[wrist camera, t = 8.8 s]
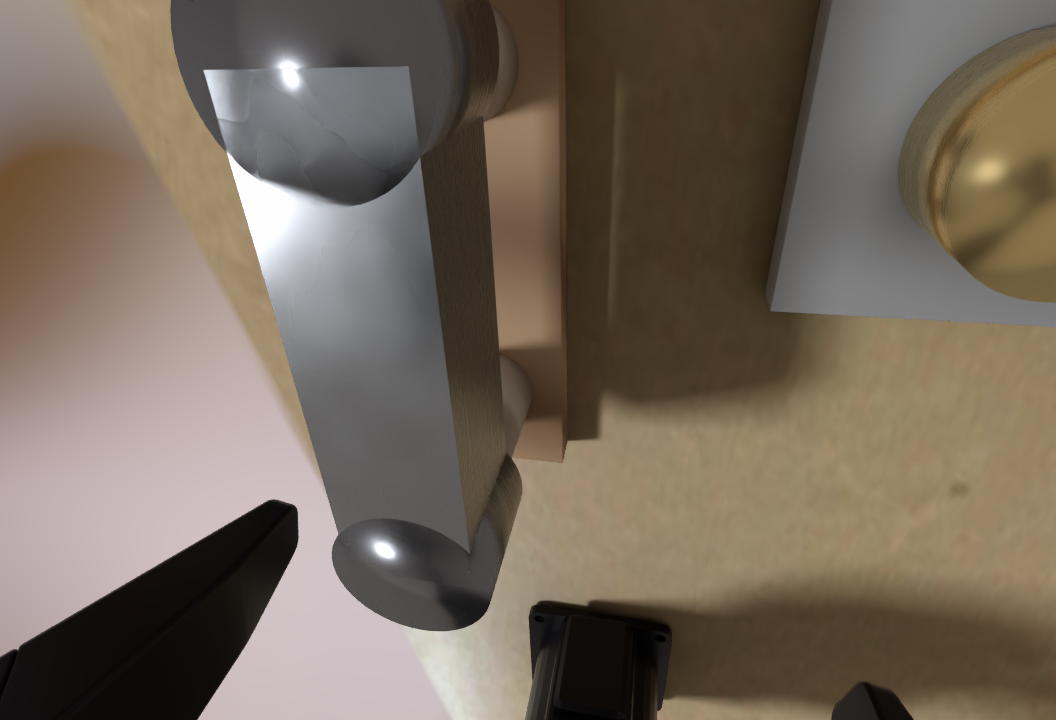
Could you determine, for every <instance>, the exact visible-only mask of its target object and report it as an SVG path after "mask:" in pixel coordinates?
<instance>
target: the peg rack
mask: <svg viewBox="0 0 1056 720" xmlns="http://www.w3.org/2000/svg"><path fill="white" fill-rule="evenodd" d="M489 1H490V4H491V7H492V10H493V13H494V16H495V21H496V25H497V30H498V39H499V70H498V78H497V82H496V86H495V90H494V94H493V96H492V99H491V101H490V104H489V106H488V108H487V110H486V112H485V114H484V116H483V119H484V134H485V149H486V163H487V178H488V192H489V207H490V222H491V236H492V251H493V265H494V280H495V294H496V309H497V324H498V338H499V353H500V367H501V382H502V396H503V411H504V426H505V440H506V453H507V454H508V455H509V456H510V458H511V459H512V457H513V458H522V459H531V460H540V461H549V462H558V463H563V458H564V454H565V450H566V445H567V225H566V0H489Z"/></svg>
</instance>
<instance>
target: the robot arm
mask: <svg viewBox="0 0 1056 720" xmlns="http://www.w3.org/2000/svg"><path fill="white" fill-rule="evenodd" d="M297 543H298V512H297V508H296V507H295V506H294V505H292V504H289V503H285V502H283V501H279V500H274V499H273V500H269V501H267V502H265V503H263V504H261V505H260V506H258V507H256V508H254V509H253V510H251V511H249V512H248V513H246V514H244V515H242V516H241V517H239V518H237V519H236V520H234V521H232V522H231V523H229V524H227V525H225V526H224V527H222V528H220V529H218V530H217V531H215V532H213V533H212V534H210V535H208V536H206V537H205V538H203V539H201V540H200V541H198V542H196V543H195V544H193V545H191V546H189V547H188V548H186V549H184V550H183V551H181V552H179V553H177V554H176V555H174V556H172V557H171V558H169V559H167V560H165V561H164V562H162V563H160V564H159V565H157V566H155V567H154V568H152V569H150V570H148V571H147V572H145V573H143V574H141V575H140V576H138V577H136V578H135V579H133V580H131V581H130V582H128V583H126V584H125V585H123V586H121V587H119V588H118V589H116V590H114V591H112V592H111V593H109V594H107V595H106V596H104V597H102V598H101V599H99V600H97V601H95V602H94V603H92V604H90V605H89V606H87V607H85V608H83V609H82V610H80V611H78V612H77V613H75V614H73V615H71V616H70V617H68V618H66V619H64V620H63V621H61V622H60V623H58V624H56V625H54V626H53V627H51V628H49V629H48V630H46V631H44V632H42V633H41V634H39V635H37V636H35V637H34V638H32V639H30V640H29V641H27V642H25V643H23V644H22V645H21V646H20V647H19V649H18V650H17V649H13V650H11V651H10V652H8V653H6V654H4V655H2V656H1V657H0V720H197V719H198V718H199V716H200V715H201V713H202V712H203V710H204V709H205V707H206V706H207V704H208V703H209V701H210V699H211V698H212V696H213V695H214V693H215V692H216V690H217V689H218V687H219V686H220V684H221V683H222V681H223V680H224V678H225V677H226V675H227V674H228V672H229V671H230V669H231V667H232V666H233V664H234V663H235V661H236V660H237V658H238V657H239V655H240V654H241V652H242V650H243V649H244V647H245V645H246V644H247V642H248V641H249V639H250V637H251V635H252V633H253V631H254V630H255V628H256V626H257V624H258V622H259V620H260V618H261V616H262V614H263V612H264V610H265V608H266V606H267V604H268V603H269V601H270V599H271V597H272V595H273V593H274V591H275V589H276V587H277V585H278V583H279V581H280V579H281V578H282V576H283V574H284V572H285V570H286V568H287V566H288V564H289V562H290V560H291V558H292V556H293V554H294V552H295V550H296V547H297ZM529 629H530V646H531V663H532V679H533V683H532V688H531V693H530V698H529V703H528V707H527V712H526V717H525V720H657V711H659V710H661V708H662V702H663V695H664V689H665V682H666V676H667V669H668V662H669V656H670V649H671V642H672V631H671V629H670V628H669V627H668V626H666V625H664V624H659V623H653V622H647V621H640V620H634V619H628V618H621V617H615V616H608V615H602V614H596V613H589V612H583V611H577V610H570V609H564V608H558V607H551V606H545V605H534V606H532V607H531V610H530V614H529ZM831 720H914V719H913V718H912V716H911V715H910V714H909V712H908V711H907V709H906V708H905V707H904V705H903V704H902V703H901V701H900V700H899V698H898V697H897V696H896V695H895V694H894V693H893V692H892V691H891V690H890V689H888V688H886V687H883V686H880V685H877V684H874V683H870V682H867V681H860V682H858V683H857V684H856V685H855V686H854V687H853V688H852V689H851V690H850V691H849V692H848V693H847V694H846V695H845V696H844V697H843V698H842V699H841V700H840V701H839V702H838V703H837V704H836V705H835V707H834V709H833V712H832V718H831Z"/></svg>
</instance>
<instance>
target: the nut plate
mask: <svg viewBox="0 0 1056 720" xmlns="http://www.w3.org/2000/svg"><path fill="white" fill-rule="evenodd" d="M1055 26H1056V0H821V1H820V6H819V12H818V17H817V22H816V27H815V33H814V38H813V43H812V48H811V54H810V59H809V64H808V69H807V75H806V80H805V85H804V91H803V96H802V101H801V106H800V112H799V117H798V122H797V127H796V133H795V138H794V143H793V148H792V154H791V159H790V164H789V169H788V175H787V180H786V185H785V190H784V196H783V201H782V206H781V211H780V217H779V222H778V227H777V232H776V238H775V243H774V248H773V253H772V259H771V264H770V269H769V274H768V280H767V285H766V290H765V295H766V298H767V302H768V305H769V308H770V311H775V312H793V313H811V314H829V315H848V316H866V317H884V318H902V319H920V320H938V321H957V322H975V323H993V324H1011V325H1029V326H1047V327H1056V302H1052V303H1049V302H1034V301H1028V300H1022V299H1017V298H1013V297H1010V296H1007V295H1004V294H1001V293H999V292H997V291H995V290H992V289H990V288H988V287H987V286H985V285H984V284H982V283H981V282H979V281H978V280H976V279H975V278H974V277H973V276H972V275H971V274H970V273H969V272H968V271H967V270H965V269H964V268H963V267H962V266H961V265H960V264H959V263H958V262H957V261H956V260H955V259H954V258H953V257H952V256H950V255H949V254H948V253H947V252H946V251H945V250H944V249H943V248H942V247H941V246H940V245H939V244H938V243H936V242H935V241H934V240H933V239H932V238H931V237H930V236H929V235H928V234H927V233H926V232H925V231H924V230H923V229H921V228H920V227H919V226H918V225H917V224H916V223H915V222H914V220H913V219H912V218H911V216H910V215H909V214H908V212H907V210H906V208H905V206H904V204H903V202H902V198H901V195H900V192H899V185H898V163H899V157H900V152H901V148H902V145H903V142H904V139H905V136H906V134H907V132H908V129H909V127H910V125H911V123H912V121H913V120H914V118H915V116H916V115H917V113H918V111H919V109H920V108H921V107H922V105H923V104H924V103H925V101H926V100H927V99H928V97H929V96H930V95H931V94H932V93H933V92H934V90H935V89H936V88H937V87H938V86H939V85H940V84H941V83H942V82H943V81H944V80H945V79H946V78H947V77H948V76H949V75H950V74H952V73H953V72H954V71H955V70H956V69H957V68H959V67H960V66H961V65H963V64H964V63H965V62H967V61H968V60H969V59H971V58H972V57H974V56H976V55H977V54H979V53H980V52H982V51H984V50H985V49H987V48H989V47H991V46H993V45H995V44H997V43H999V42H1001V41H1003V40H1005V39H1008V38H1011V37H1014V36H1016V35H1019V34H1022V33H1025V32H1029V31H1033V30H1037V29H1041V28H1048V27H1055Z"/></svg>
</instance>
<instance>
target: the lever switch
mask: <svg viewBox="0 0 1056 720" xmlns="http://www.w3.org/2000/svg"><path fill="white" fill-rule="evenodd" d="M898 185H899V192H900V195H901V198H902V202H903V204H904V206H905V208H906V210H907V212H908V214H909V215H910V216H911V218H912V219H913V220H914V222H915V223H916V224H917V225H918V226H919V227H920V228H921V229H923V230H924V231H925V232H926V233H927V234H928V235H929V236H930V237H931V238H932V239H933V240H934V241H935V242H936V243H938V244H939V245H940V246H941V247H942V248H943V249H944V250H945V251H946V252H947V253H948V254H949V255H950V256H952V257H953V258H954V259H955V260H956V261H957V262H958V263H959V264H960V265H961V266H962V267H963V268H964V269H965V270H967V271H968V272H969V273H970V274H971V275H972V276H973V277H974V278H975V279H976V280H978V281H979V282H981V283H982V284H984V285H985V286H987V287H988V288H990V289H992V290H995V291H997V292H999V293H1001V294H1004V295H1007V296H1010V297H1013V298H1017V299H1022V300H1028V301H1034V302H1049V303H1052V302H1056V26H1055V27H1048V28H1041V29H1037V30H1033V31H1029V32H1025V33H1022V34H1019V35H1016V36H1014V37H1011V38H1008V39H1005V40H1003V41H1001V42H999V43H997V44H995V45H993V46H991V47H989V48H987V49H985V50H984V51H982V52H980V53H979V54H977V55H976V56H974V57H972V58H971V59H969V60H968V61H967V62H965V63H964V64H963V65H961V66H960V67H959V68H957V69H956V70H955V71H954V72H953V73H952V74H950V75H949V76H948V77H947V78H946V79H945V80H944V81H943V82H942V83H941V84H940V85H939V86H938V87H937V88H936V89H935V90H934V92H933V93H932V94H931V95H930V96H929V97H928V99H927V100H926V101H925V103H924V104H923V105H922V107H921V108H920V109H919V111H918V113H917V115H916V116H915V118H914V120H913V121H912V123H911V125H910V127H909V129H908V132H907V134H906V136H905V139H904V142H903V145H902V148H901V152H900V157H899V163H898Z"/></svg>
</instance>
